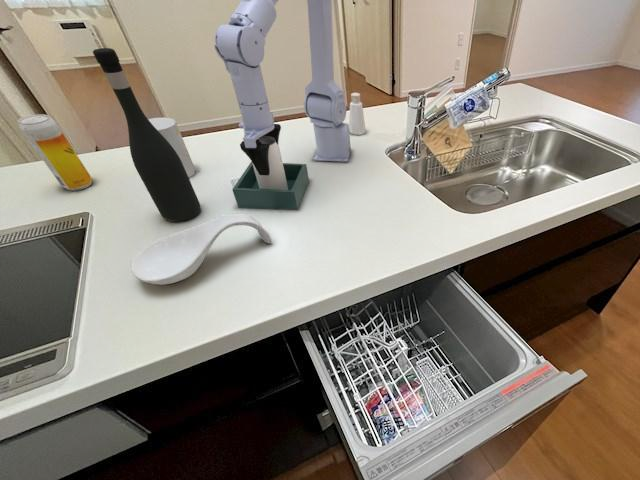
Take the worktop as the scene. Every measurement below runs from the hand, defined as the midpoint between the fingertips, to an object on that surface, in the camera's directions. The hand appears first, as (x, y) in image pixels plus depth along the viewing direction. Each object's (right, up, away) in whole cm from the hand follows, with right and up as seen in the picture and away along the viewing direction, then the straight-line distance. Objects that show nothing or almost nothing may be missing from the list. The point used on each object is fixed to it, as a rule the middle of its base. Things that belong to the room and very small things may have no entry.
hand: (269, 166), depth 79 cm
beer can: (-47, -3, +4) cm, 48 cm away
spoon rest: (-7, -23, -12) cm, 27 cm away
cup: (-27, +2, +10) cm, 29 cm away
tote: (0, -5, +5) cm, 7 cm away
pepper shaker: (+16, +24, +33) cm, 44 cm away
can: (0, -4, +5) cm, 7 cm away
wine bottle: (-18, -11, -2) cm, 22 cm away
